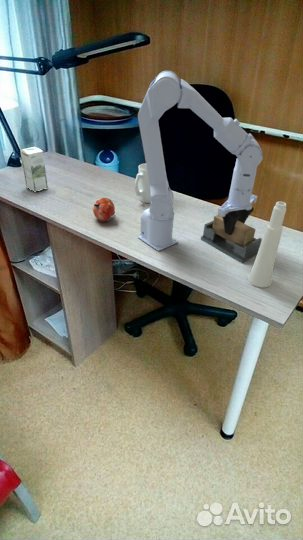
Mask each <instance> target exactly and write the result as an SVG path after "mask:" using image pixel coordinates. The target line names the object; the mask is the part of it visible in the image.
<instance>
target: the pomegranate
mask: <svg viewBox="0 0 303 540" xmlns="http://www.w3.org/2000/svg"><path fill="white" fill-rule="evenodd" d="M115 209H116V208H115V204H114V202H113V201H112V200H111V198H108V197H102V198H100V199H98V200H96V202H95V203H94V204H93V208H92V212H93V215H94V216H95V217H94V218H97V219H98V221H100V222H104V223H105V222H109V221H111V220H112V216H115V217H116V215H115V213H116V210H115Z"/></svg>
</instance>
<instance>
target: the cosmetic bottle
mask: <svg viewBox="0 0 303 540" xmlns="http://www.w3.org/2000/svg"><path fill="white" fill-rule="evenodd" d="M286 213H287V203H286V202H284V201H277V202H275V205H274V206H273V209H272V212H271V216H270V220H269V223H267V225H266V227H265V230H264V232H263V236H262V238H261V239H262V241H261V245H260V248H259V251H258V254H257V255H256V257H255V260H254V263H253V265H252V268H251V269H250V271H249V274H248V276H247V280H248V282H249V283H250V284H251V285H252V286H254V287H257V288H261V289H263V288H268V287H270V286H271V285H272V281H273V273H274V269H275V268H274V266H275V263H276V259H277V258H276V257H277V254H278V250H279V246H280V241H281V237H282V233H283V226H282V225H283V222H284V219H285V215H286Z"/></svg>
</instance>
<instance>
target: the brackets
mask: <svg viewBox="0 0 303 540" xmlns="http://www.w3.org/2000/svg"><path fill="white" fill-rule="evenodd" d="M213 221H214V220H212V221H210V222H209V221H208V222H207V223H205V224H204V227H203V233H202V236H200V240H201V241H202V242H204V243H206V244H208V246H209V245H210V246H211V247H213V248H215V249H217V250H218V251H220V252H222V253H223V254H225V255H227V256H228V257H230V258H231V259H234V261H237V262H239V263H241V264H243V263H245V262H247V261H249V260H250V259H252V258H254V257H255V256H256V257H257V254H258V251H259V248H260V245H261V241H262V238H261V237H259V238H256V237H254V238H253V242H251V243H249V244H247V245H245V246H242V245H240V244H239V243H235V244H234V243H232V242H231V241H229V240H227V239H225V238H223V237H221V236H220V235H218V234H216V231H214V230H213V229H212V227H213Z"/></svg>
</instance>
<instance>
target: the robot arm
mask: <svg viewBox="0 0 303 540" xmlns="http://www.w3.org/2000/svg"><path fill="white" fill-rule="evenodd" d="M175 105H177V109H190V110H191V111H192V112H193V113H194V114H196V115H197V116H198V117H199V118H200V119H202V120H203V121H204V122H205V123H206V124H207V125H208V126H209V127H211V128H212V129H213V138H215V140H217V141H218V143H219V144H221V145H222V146H223V147H224V148H225V149H226V150H227V151H228V152H230V153H231V154H232V155H235V156H236V157H237V158H236V161H235V166H234V168H233V173H232V177H231V178H232V179H231V184H230V189H229V193H228V199H227V200H226V201H225V202H224V203H223V204H222V205H221V206H219V207H218V209H217V215H220V216H222V218H223V222H224V229H225V233H227V234H228V235H232V233H233V230H234V227H235V224H236V222H237V220H238V221H240V222H242V223H244V224H246V222H247V219H248V218H249V217H250V215H251V214H252V213H253V212H254V210H255V209H254V207H253V206H252V204H256V203H257V200H258V195H255V194H252V193H253V190H254V185H255V181H256V175H257V169H258V166H259V165H260V164H261V162H262V161H263V158H264V157H263V150H262V148H261V146H260V145H259V143H258V141H257V140H256V138H255V137H254V136H253V135H252V133H247V132H246V130H245V129H243V128H242V127H241V126H240V125H241V122H240V121H239V120H238V119H237V118H234V119H233V118H232V117H229V116H228V117H222V116H221V115H220V113H218V111H217V110H216V109H215V108H214V107H213V106H212V105H211V104H210V103H209V102H208V101H207V100H206V99H205V98H204V97H203V96H202V95H201V94H200V93H199V92H198V91H197V90H196V89H195V88H194V87H193V86H191V84H189V83H188V82H187V81H186V80H184V79H182V78H179V76H178V75H177V74H176V72H174V71H172V70H163V71H161V72H160V73H159V74H158V75H156V76H155V78H153V80H152V81H151V82H150V84H149V86H148V89H147V91H146V94H145V96H144V98H143V100H142V103H141V105H140V107H139V109H138V110H139V111H138V113H137V119H138V120H137V121H138V126H139V132H140V137H141V138H140V139H141V142H142V149H143V154H144V159H145V163H146V165H147V171H148V176H149V182H150V193H151V203H150V206H149V207H148V208H146V209H145V210H144V211H143V212H142V214H141V216H140V230H139V231H140V235H138V236H137V238H138V239H139V240H141V241H143V243H145V244H147V245H148V246H150V247H151V248H153V249H154V250H155V251H158V252H159V251H162V250H164V249H166V248H168V247H171V246H173V245H175V244H177V243H178V242H179V241H178V240H177V239H176V238H174V237H173V232H174V231H173V229H174V220H175V219H174V218H175V212H174V206H173V205H174V203H173V202H174V193H173V190H172V189H171V188H170V186H169V181H168V177H167V172H166V165H165V164H166V163H165V158H164V157H165V156H164V151H163V144H162V137H161V130H160V126H159V120H160V118H161V117H162V116H163V115H164V113H165V112H166V111H168V110H169V109H171V108H172V107H174V106H175Z"/></svg>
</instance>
